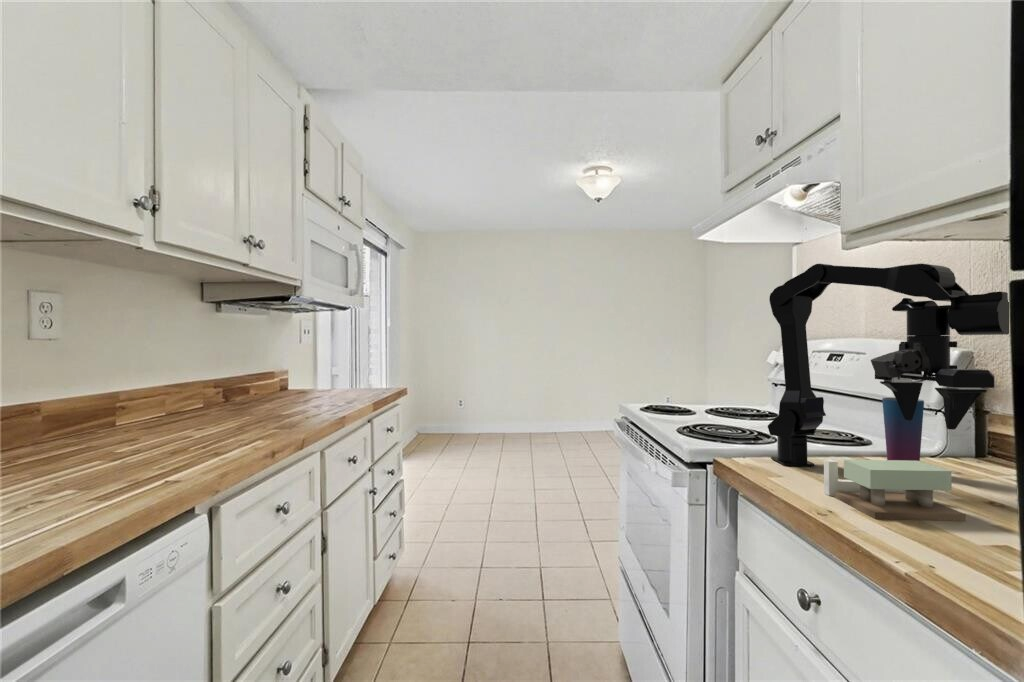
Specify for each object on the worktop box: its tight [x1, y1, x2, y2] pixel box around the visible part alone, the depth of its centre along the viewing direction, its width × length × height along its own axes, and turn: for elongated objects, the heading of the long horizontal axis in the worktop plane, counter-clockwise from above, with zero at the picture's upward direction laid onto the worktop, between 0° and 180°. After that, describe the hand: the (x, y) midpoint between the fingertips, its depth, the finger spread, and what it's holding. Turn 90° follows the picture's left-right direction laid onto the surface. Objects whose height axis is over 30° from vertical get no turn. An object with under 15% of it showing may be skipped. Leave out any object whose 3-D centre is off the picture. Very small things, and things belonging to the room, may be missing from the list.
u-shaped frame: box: [823, 459, 905, 497], centre depth 83 cm, size 2×14×6 cm, turn 86°
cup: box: [881, 396, 925, 461], centre depth 99 cm, size 7×7×15 cm
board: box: [843, 459, 953, 491], centre depth 76 cm, size 12×6×3 cm, turn 86°
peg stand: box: [834, 485, 967, 522], centre depth 76 cm, size 10×13×4 cm
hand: (928, 424), depth 83 cm, fingers open, 9 cm apart
